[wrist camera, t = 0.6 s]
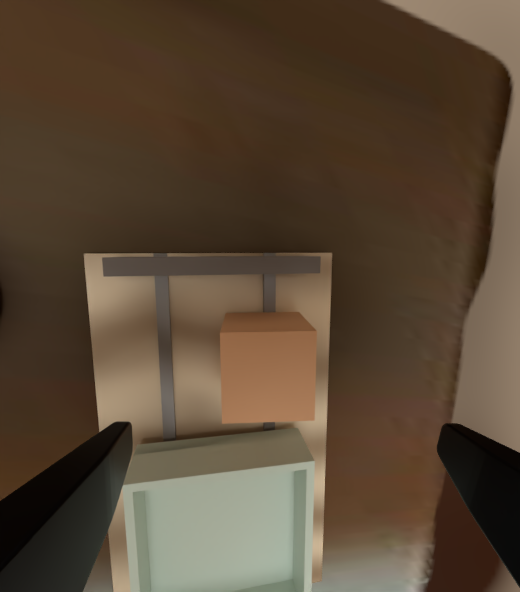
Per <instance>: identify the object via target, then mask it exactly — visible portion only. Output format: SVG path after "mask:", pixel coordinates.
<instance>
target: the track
mask: <svg viewBox="0 0 520 592" xmlns="http://www.w3.org/2000/svg"><path fill="white" fill-rule="evenodd" d="M84 263H85V274H86V285H87V297H88V308H89V319H90V331H91V342H92V353H93V364H94V376H95V387H96V398H97V410H98V421H99V432H100V431H102V430H103V429H105V428H106V427H108V426H109V425H111V424H112V423H114V422H116V421H129V422H130V423H131V424H132V437H133V452H132V457H131V460H132V458H133V455H134V452H135V449H136V447H137V445H139V444H148V443H158V442H167V441H177V440H186V439H195V438H205V437H214V436H224V435H233V434H243V433H252V432H262V431H271V430H281V429H290V428H298V429H299V431H300V433H301V435H302V437H303V439H304V441H305V443H306V445H307V447H308V449H309V451H310V453H311V454H312V456H313V458H314V460H315V471H314V509H313V547H312V583H315V582H320V581H322V554H323V523H324V492H325V461H326V430H327V398H328V367H329V336H330V305H331V274H332V253H113V254H84ZM258 312H300V313H301V315H302V316H303V317H304V318H305V319H306V320H307V321H308V322H309V323H310V324H311V325H312V326H313V327H314V328H315V329H316V331H317V347H316V386H315V421H287V422H258V423H228V424H222V403H221V360H220V331H221V327H222V324H223V321H224V317H225V314H226V313H258ZM131 460H130V463H131ZM129 466H130V464H129ZM128 468H129V467H128ZM127 471H128V470H127ZM126 474H127V473H126ZM108 534H109V545H110V557H111V568H112V579H113V591H114V592H131V591H130V578H129V565H128V552H127V540H126V527H125V514H124V502H123V489H122V490H121V493H120V497H119V500H118V503H117V506H116V510H115V513H114V516H113V519H112V521H111V524H110V527H109V529H108Z"/></svg>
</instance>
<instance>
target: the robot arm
mask: <svg viewBox="0 0 520 592" xmlns="http://www.w3.org/2000/svg"><path fill="white" fill-rule="evenodd" d="M132 452H133V437H132V424H131V423H130V422H129V421H116V422H114V423H112V424H111V425H109V426H108V427H106V428H105V429H103V430H102V431H100V432H99V433H98V434H96V435H95V436H93V437H92V438H90V439H89V440H87V441H86V442H85V443H83V444H82V445H80V446H79V447H77V448H76V449H74V450H73V451H72V452H70V453H69V454H67V455H66V456H64V457H63V458H62V459H60V460H59V461H57V462H56V463H54V464H53V465H51V466H50V467H49V468H47V469H46V470H44V471H43V472H41V473H40V474H38V475H37V476H36V477H34V478H33V479H31V480H30V481H28V482H27V483H25V484H24V485H23V486H21V487H20V488H18V489H17V490H15V491H14V492H12V493H11V494H10V495H8V496H7V497H5V498H4V499H2V500H1V501H0V592H83V590H84V587H85V585H86V582H87V580H88V577H89V575H90V573H91V570H92V568H93V565H94V563H95V561H96V558H97V556H98V553H99V551H100V548H101V546H102V544H103V541H104V539H105V536H106V534H107V532H108V529H109V527H110V524H111V521H112V519H113V516H114V513H115V510H116V506H117V503H118V500H119V497H120V493H121V490H122V487H123V483H124V480H125V477H126V473H127V470H128V467H129V464H130V460H131V457H132ZM437 452H438V455H439V457H440V459H441V461H442V463H443V464H444V466H445V468H446V470H447V472H448V473H449V475H450V477H451V479H452V481H453V483H454V484H455V486H456V488H457V490H458V491H459V493H460V495H461V497H462V499H463V501H464V502H465V504H466V506H467V508H468V509H469V511H470V512H471V514H472V516H473V517H474V519H475V520H476V522H477V524H478V525H479V527H480V528H481V530H482V531H483V533H484V534H485V536H486V537H487V539H488V540H489V542H490V543H491V545H492V546H493V548H494V549H495V551H496V552H497V554H498V555H499V557H500V559H501V560H502V562H503V563H504V565H505V566H506V568H507V569H508V571H509V572H510V574H511V575H512V577H513V578H514V580H515V581H516V583H517V585H518V586H519V587H520V453H519V452H517V451H515V450H513V449H511V448H509V447H507V446H505V445H502V444H500V443H498V442H496V441H494V440H492V439H490V438H487V437H486V436H483V435H482V434H479V433H477V432H475V431H473V430H471V429H469V428H467V427H465V426H463V425H460V424H455V423H446V424H444V425H443V426H442V428H441V432H440V436H439V440H438V444H437Z"/></svg>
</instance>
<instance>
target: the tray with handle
mask: <svg viewBox="0 0 520 592" xmlns="http://www.w3.org/2000/svg"><path fill="white" fill-rule="evenodd" d="M314 471H315V460H314V458H313V456H312V454H311V453H310V451H309V449H308V447H307V445H306V443H305V441H304V439H303V437H302V435H301V433H300V431H299V429H298V428H290V429H281V430H271V431H262V432H252V433H243V434H233V435H224V436H214V437H205V438H195V439H186V440H177V441H167V442H158V443H148V444H139V445H137V447H136V449H135V452H134V455H133V458H132V460H131V463H130V466H129V468H128V471H127V474H126V477H125V480H124V483H123V487H122V489H123V502H124V514H125V527H126V540H127V552H128V565H129V578H130V591H131V592H311V585H312V547H313V509H314Z"/></svg>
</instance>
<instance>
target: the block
mask: <svg viewBox="0 0 520 592" xmlns="http://www.w3.org/2000/svg"><path fill="white" fill-rule="evenodd" d="M316 347H317V331H316V329H315V328H314V327H313V326H312V325H311V324H310V323H309V322H308V321H307V320H306V319H305V318H304V317H303V316H302V315H301V313H300V312H258V313H226V314H225V317H224V321H223V324H222V327H221V331H220V360H221V403H222V424H228V423H258V422H287V421H315V386H316Z"/></svg>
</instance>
